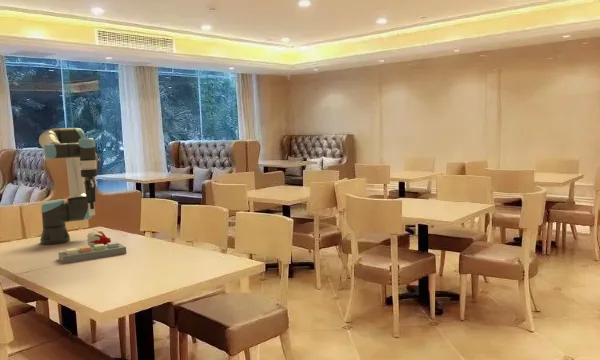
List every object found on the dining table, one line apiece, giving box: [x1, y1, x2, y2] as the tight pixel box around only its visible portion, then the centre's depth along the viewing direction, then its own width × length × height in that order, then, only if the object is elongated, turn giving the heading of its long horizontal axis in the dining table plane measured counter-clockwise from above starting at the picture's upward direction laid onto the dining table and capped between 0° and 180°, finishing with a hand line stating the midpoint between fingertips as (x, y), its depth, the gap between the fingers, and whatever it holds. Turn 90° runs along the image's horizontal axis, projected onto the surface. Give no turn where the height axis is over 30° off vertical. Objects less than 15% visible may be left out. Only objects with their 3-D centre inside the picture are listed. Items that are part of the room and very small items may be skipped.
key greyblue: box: [106, 241, 119, 248], centre depth 255 cm, size 4×4×3 cm
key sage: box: [94, 244, 106, 251], centre depth 251 cm, size 4×4×3 cm
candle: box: [87, 229, 112, 248], centre depth 269 cm, size 9×11×15 cm
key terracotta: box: [79, 245, 92, 253], centre depth 247 cm, size 4×4×3 cm
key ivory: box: [64, 247, 78, 255], centre depth 244 cm, size 4×4×3 cm
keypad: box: [58, 242, 127, 264], centre depth 249 cm, size 11×29×3 cm, turn 126°
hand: (92, 215), depth 258 cm, fingers closed
